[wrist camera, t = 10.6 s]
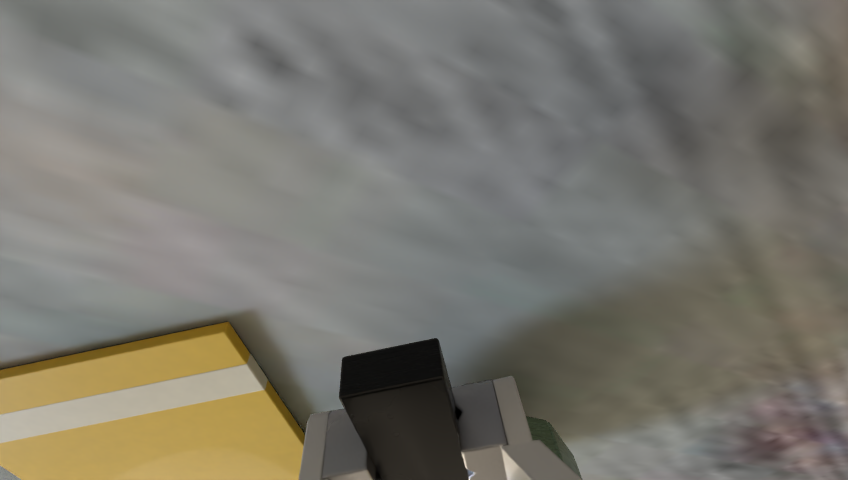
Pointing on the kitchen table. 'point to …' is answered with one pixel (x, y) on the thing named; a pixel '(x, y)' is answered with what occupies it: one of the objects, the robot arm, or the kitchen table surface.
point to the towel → (149, 414)
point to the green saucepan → (415, 413)
